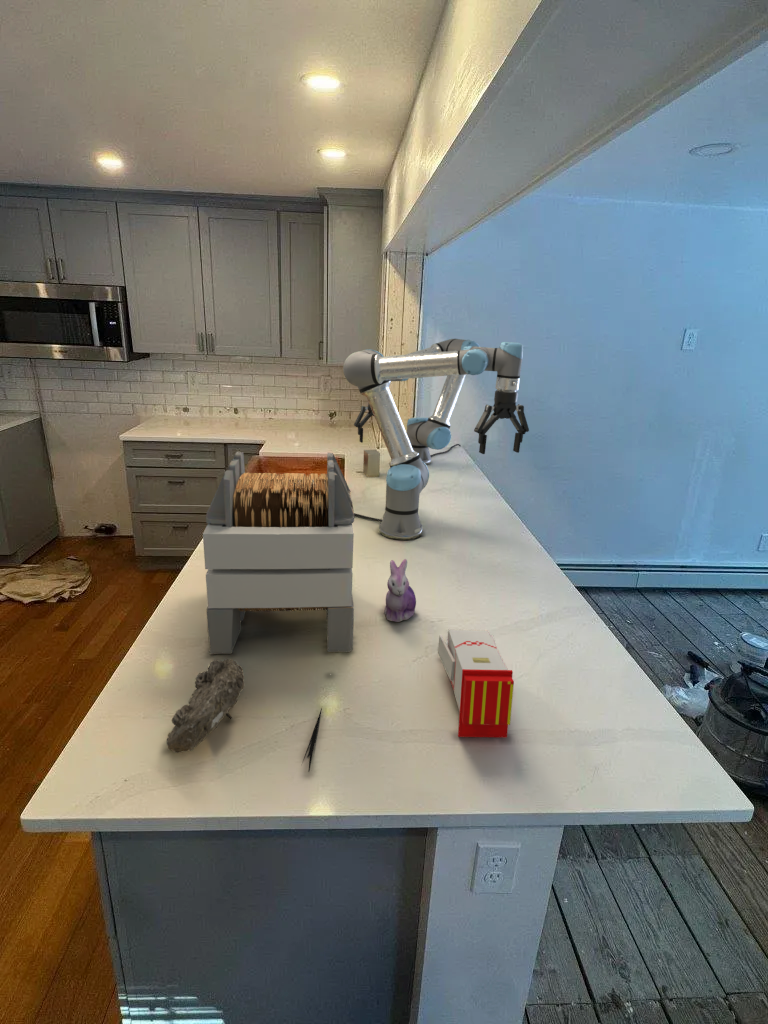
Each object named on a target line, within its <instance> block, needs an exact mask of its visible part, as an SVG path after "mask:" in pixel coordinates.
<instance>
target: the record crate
mask: <svg viewBox="0 0 768 1024" xmlns="http://www.w3.org/2000/svg"><path fill="white" fill-rule="evenodd" d="M244 455H245V454H244V451H242V452H241V451H236V452H235V454H234V456H233V458H232V459H230V463H229V465H228V467H227V469H226V470H224V473H223V475H222V478H221V479H220V482H219V484H218V487H217V489H216V491H215V494H214V495H213V497H212V500H211V502H210V505H209V507H208V509H207V511H206V515H205V523H206V524H207V525H206V527H205V529H204V531H203V533H202V543H203V558H204V569H205V570H206V573H205V584H206V587H205V588H206V598H207V599H206V601H207V607H206V623H207V634H208V641H209V642H208V643H209V650H208V653H209V655H216V654H217V655H218V654H221V655H222V654H223V655H226V654H227V655H228V654H230V655H231V654H232V653H233V650H234V648H235V647H236V643H237V641H238V638H239V636H240V634H241V630H242V626H241V625H242V623H241V622H243V621H244V618H245V615H246V612H272V611H273V612H279V611H280V612H284V611H286V612H288V611H289V612H291V611H292V612H293V611H294V612H295V611H303V612H304V611H322V610H323V611H326V636H327V637H326V641H327V645H326V646H327V652H329V653H330V652H332V653H333V652H343V653H349V652H351V651H352V650H354V617H355V616H354V614H355V607H354V598H353V575H354V573H353V566H354V563H353V562H354V537H355V536H354V535H355V532H354V527H353V524H354V522H355V516H354V513H355V511H354V506H353V505H354V504H353V500H352V495H351V489H350V487H349V485H348V483H347V480H346V479H345V476H344V474H343V472H342V470H341V467H340V465H339V463H338V461H337V459H336V457H335V455H334V453H333V452H327V453H326V456H327V457H326V468H327V469H326V473H320V474H318V473H307V474H306V473H303V472H302V473H299V472H298V473H297V472H294V473H293V472H292V473H291V472H290V473H288V472H283V473H276V472H273V473H271V472H263V473H262V472H259V473H258V472H253V473H252V472H245V468H246V467H245V456H244Z"/></svg>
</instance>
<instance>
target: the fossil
mask: <svg viewBox="0 0 768 1024" xmlns="http://www.w3.org/2000/svg"><path fill="white" fill-rule="evenodd" d="M243 670H244V669H243V667H242V665H240V664H237V662H236V661H235V660H234V659H232V658H231V659H227V658H226V659H224V660H223V661H222V660H217V659H212V660H211V661H210V663H209V665H208V666H207V671H201V672H199V673H198V674H197V675H196V676H195V680H194V684H195V685H194V687H195V689H194V690H193V693H192V694H191V697H190V698H189V700H188V704H184V705H182V706H181V707H180V709H177V710H176V711H175V713H174V715H173V716H172V718H171V723H172V724H173V727H172V730H171V731H170V732H168V734H167V738H166V741H167V742H166V745H167V749H168V750H169V751H173V752H174V753H176V754H178V753H182V752H188V751H189V752H192V751H193V750H195V748H196V747H197V746H199V744H200V743H201V742H203V741H204V740H205V739H206V738H207V737H208V736H209V735H210V734H211V733H212V732H214V730H215V729H217V727H218V726H219V724H220V722H221V721H222V720H223V719H224V718H225V716H226V717H227V719H229V720H233V717H232V715H230V714H229V710H230V709H231V708H234V706H235V704H236V703H237V702H238V699H239V697H240V695H241V693H242V691H243V690H245V689H244V688H245V675H244V671H243Z"/></svg>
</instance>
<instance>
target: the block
mask: <svg viewBox="0 0 768 1024" xmlns="http://www.w3.org/2000/svg"><path fill="white" fill-rule="evenodd" d="M362 464H363V465H362V468H363V469H362V474H363V475H364V476H366V477H367V478H377V477H378V478H379V477H380V469H381V452H379V451H378V450H377V449H363V462H362Z"/></svg>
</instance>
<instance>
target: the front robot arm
mask: <svg viewBox="0 0 768 1024" xmlns="http://www.w3.org/2000/svg"><path fill="white" fill-rule="evenodd" d="M499 345H500V346H499V347H486V346H480V347H476V346H466V347H465V348H464V349H463V350H460V351H446V352H433V353H421V354H409V353H407V354H408V355H406V354H397V355H396V354H395V355H385V356H384V355H383V353H381V352H379V351H377V350H374V349H370V348H369V349H367V348H366V349H363V350H360V351H355V352H353V353H351V354H349V355H348V356H347V357H346V359H345V360H344V363H343V367H342V369H343V370H342V371H343V377H344V378H345V379H346V381H347V382H348V383H349V384H350V385H352V386H355V387H357V388H358V391H359V394H360V395H361V396H363V397H366V399H367V402H369V405H370V407H371V410H372V412H373V415H374V416H373V417H374V419H375V422H376V424H377V427H378V429H379V433H380V435H381V437H382V440H383V442H384V444H385V448H386V449H387V452H388V454H389V457H390V461H389V463H388V466H389V468H388V470H387V471H386V472H387V473H386V476H385V483H386V484H385V504H384V505H385V507H384V508H385V509H384V513H383V515H382V519H381V518H376V517H371V516H368V515H364V514H359V513H355V512H354V517H357V518H360V519H365V520H369V521H373V522H374V521H375V522H379V525H378V533H379V534H380V535H381V536H382V537H385V538H387V539H389V540H395V541H410V540H415V539H418V538H420V537H421V536H422V535H423V525H422V524H421V518H420V515H419V507H420V506H419V505H420V504H419V503H420V496H421V495H420V494H421V493H422V491H423V489H425V487H426V486H427V485H428V482H429V479H430V470H429V467H428V465H426V464H425V463H424V462H423V461H422V460H421V458H420V455H419V453H418V452H416V451H414V450H413V449H412V446H411V444H410V441H409V438H408V436H407V430H406V429H405V426H404V423H403V421H402V418H401V415H400V413H399V411H398V408H397V406H396V403H395V400H394V397H393V395H392V391H391V390H390V385H391V384H392V383H391V382H392V381H390V380H395V379H408V380H409V379H420V378H434V377H435V378H437V377H447V376H450V375H466V376H467V375H470V376H477V375H481V374H483V373H484V372H496V380H495V389H496V390H495V391H494V399H493V401H494V403H493V405H491V404H490V405H489V404H485V406H484V411H483V412H482V414H481V416H480V418H479V420H478V421H477V423H476V425H475V427H474V430H473V432H475V433H477V434H478V439H477V443H478V444H479V449H478V453H480V454H481V455H485V454H486V447H487V440H488V439H487V438H488V435H487V432H488V431H489V430H490V429H491V428H492V427H493V425H494V424H495V423H496V422H497V421H499V420H503V419H509V420H510V421H511V423H512V425H513V427H514V428H515V429H516V432H514V433H515V434H514V440H513V448H512V451H513V452H514V453H517V454H519V453H520V449H521V443H523V440H524V439H523V438H524V435H526V434H527V433H528V432H530V427H529V425H528V422H527V418H526V414H525V406H524V404H517V402H518V397H519V393H518V392H517V391H519V387H520V380H521V379H520V378H521V371H522V363H523V359H524V358H523V357H524V345H523V344H522V343H520V342H511V341H510V342H509V341H502V342H501V343H500V344H499ZM515 412H516V413H517V416H516V415H515ZM517 417H518V419H517Z"/></svg>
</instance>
